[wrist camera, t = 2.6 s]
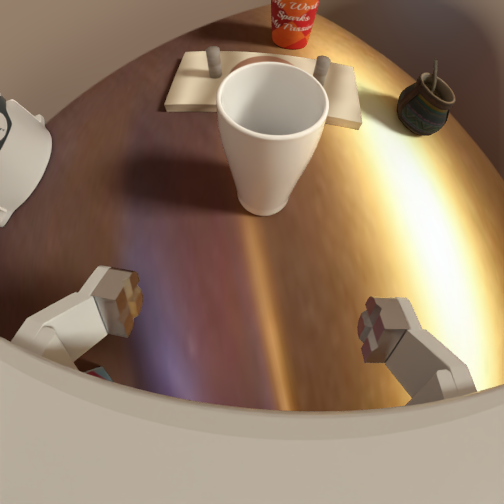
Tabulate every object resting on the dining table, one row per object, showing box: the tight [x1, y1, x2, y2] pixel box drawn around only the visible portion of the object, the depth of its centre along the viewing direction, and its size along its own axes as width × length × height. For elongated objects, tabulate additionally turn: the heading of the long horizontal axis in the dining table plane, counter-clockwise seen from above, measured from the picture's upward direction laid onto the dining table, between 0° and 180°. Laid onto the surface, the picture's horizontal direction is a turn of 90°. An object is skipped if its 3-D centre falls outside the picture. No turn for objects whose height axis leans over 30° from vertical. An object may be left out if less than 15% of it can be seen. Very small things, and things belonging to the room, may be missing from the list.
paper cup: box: [271, 0, 320, 49], centre depth 28 cm, size 8×8×14 cm
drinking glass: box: [216, 62, 329, 216], centre depth 22 cm, size 7×7×15 cm
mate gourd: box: [397, 58, 455, 135], centre depth 27 cm, size 7×8×10 cm
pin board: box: [164, 46, 362, 130], centre depth 29 cm, size 24×11×6 cm, turn 84°
